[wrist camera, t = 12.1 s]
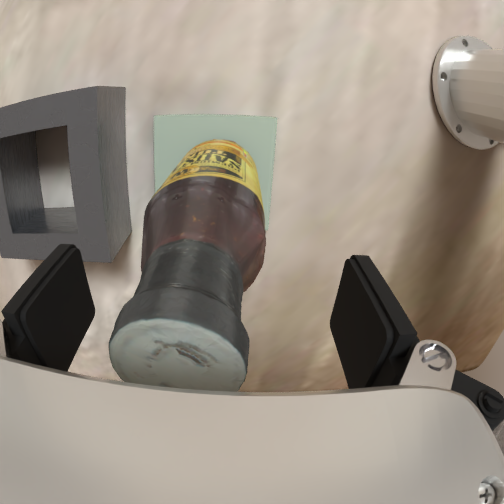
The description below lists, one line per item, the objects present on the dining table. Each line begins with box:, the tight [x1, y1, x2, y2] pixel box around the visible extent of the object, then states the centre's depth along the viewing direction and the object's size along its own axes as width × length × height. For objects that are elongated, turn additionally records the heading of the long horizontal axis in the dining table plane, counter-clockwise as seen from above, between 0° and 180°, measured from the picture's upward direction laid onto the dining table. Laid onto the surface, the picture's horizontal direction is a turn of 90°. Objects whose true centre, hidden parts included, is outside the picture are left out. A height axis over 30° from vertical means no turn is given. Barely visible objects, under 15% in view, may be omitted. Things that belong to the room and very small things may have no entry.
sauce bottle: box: [109, 139, 266, 392], centre depth 16 cm, size 6×6×20 cm
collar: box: [0, 86, 132, 263], centre depth 22 cm, size 12×13×6 cm
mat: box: [154, 114, 277, 230], centre depth 25 cm, size 10×10×1 cm
